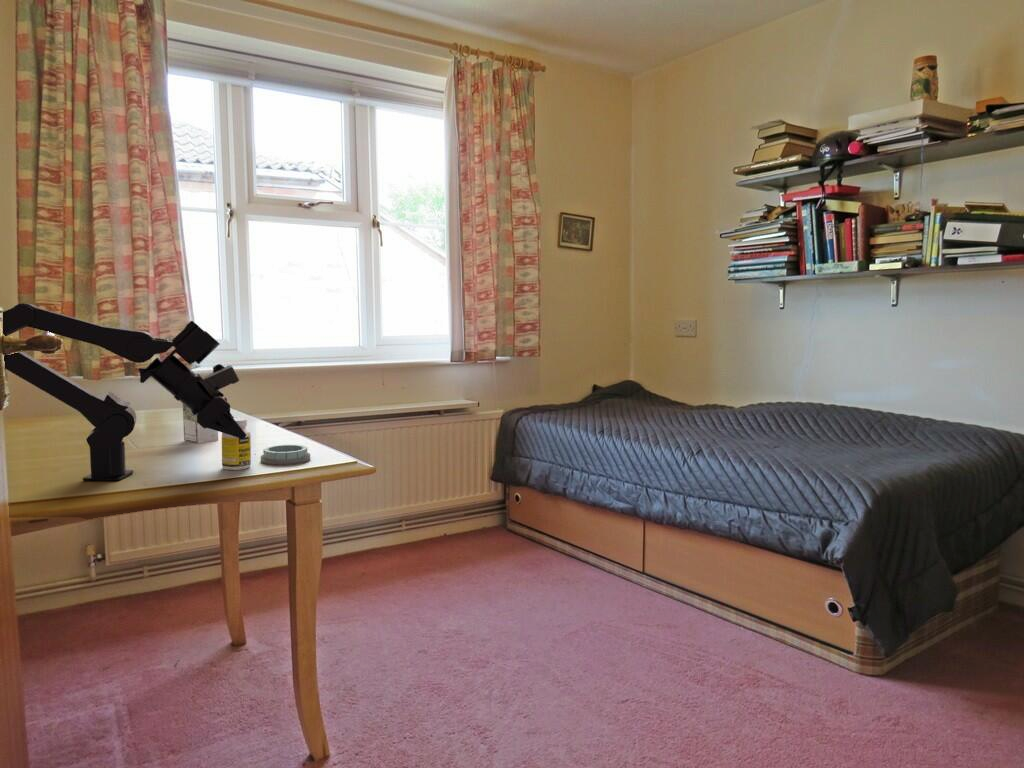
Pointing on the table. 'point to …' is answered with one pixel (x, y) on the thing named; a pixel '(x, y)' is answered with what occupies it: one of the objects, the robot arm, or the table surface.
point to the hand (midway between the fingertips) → (243, 434)
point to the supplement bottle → (236, 449)
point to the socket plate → (285, 455)
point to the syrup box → (196, 429)
